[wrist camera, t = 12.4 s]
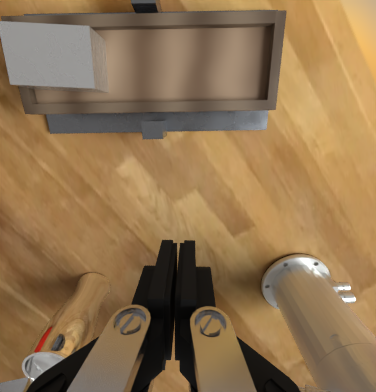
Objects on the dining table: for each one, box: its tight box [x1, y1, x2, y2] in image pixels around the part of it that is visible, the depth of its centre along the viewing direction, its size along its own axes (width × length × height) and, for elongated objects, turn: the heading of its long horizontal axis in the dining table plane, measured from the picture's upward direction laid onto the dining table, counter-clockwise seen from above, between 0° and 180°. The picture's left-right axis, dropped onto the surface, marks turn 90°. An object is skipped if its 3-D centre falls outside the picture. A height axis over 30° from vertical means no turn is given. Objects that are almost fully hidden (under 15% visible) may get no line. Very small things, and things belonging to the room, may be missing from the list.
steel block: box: [0, 21, 109, 93], centre depth 22 cm, size 8×5×4 cm, turn 87°
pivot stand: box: [24, 0, 278, 139], centre depth 27 cm, size 31×15×7 cm, turn 91°
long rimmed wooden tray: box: [1, 11, 286, 114], centre depth 24 cm, size 28×9×2 cm, turn 91°
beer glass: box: [22, 273, 111, 380], centre depth 35 cm, size 7×7×15 cm
